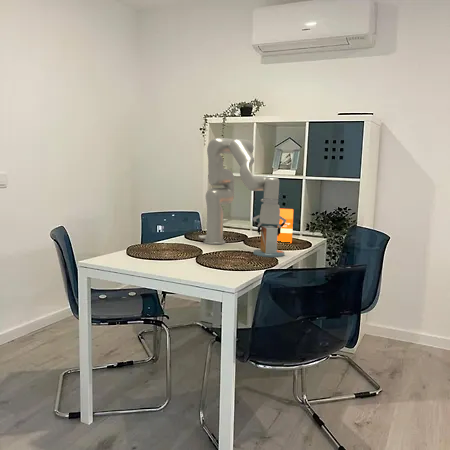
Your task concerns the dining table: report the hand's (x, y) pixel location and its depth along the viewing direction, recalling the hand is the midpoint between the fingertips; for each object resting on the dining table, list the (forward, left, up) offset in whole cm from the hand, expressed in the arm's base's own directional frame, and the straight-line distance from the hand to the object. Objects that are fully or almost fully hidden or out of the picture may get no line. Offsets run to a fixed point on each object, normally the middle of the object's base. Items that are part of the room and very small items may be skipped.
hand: (268, 234), depth 244 cm
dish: (0, 0, -10) cm, 10 cm away
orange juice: (+10, +41, -10) cm, 43 cm away
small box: (0, 0, -9) cm, 9 cm away
